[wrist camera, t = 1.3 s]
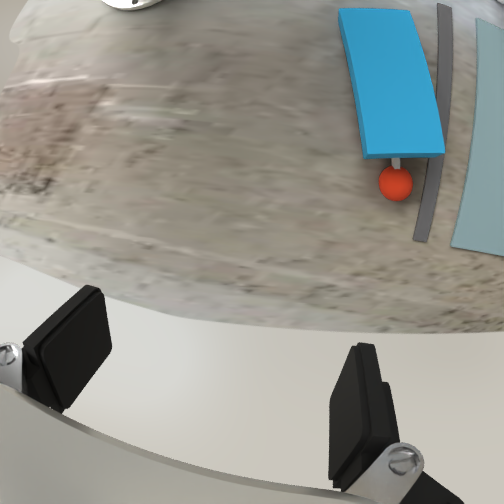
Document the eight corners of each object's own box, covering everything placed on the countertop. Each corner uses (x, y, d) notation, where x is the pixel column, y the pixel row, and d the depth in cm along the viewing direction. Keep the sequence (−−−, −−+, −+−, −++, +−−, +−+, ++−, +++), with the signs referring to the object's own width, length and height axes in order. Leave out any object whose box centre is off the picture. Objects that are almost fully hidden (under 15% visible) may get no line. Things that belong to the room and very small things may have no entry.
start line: (436, 3, 20) (438, 2, 20) (450, 8, 20) (451, 7, 20) (412, 238, 31) (413, 239, 30) (425, 240, 30) (426, 242, 30)
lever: (336, 43, 28) (360, 203, 30) (338, 8, 22) (372, 200, 23) (395, 43, 27) (424, 200, 29) (409, 10, 20) (450, 197, 22)
